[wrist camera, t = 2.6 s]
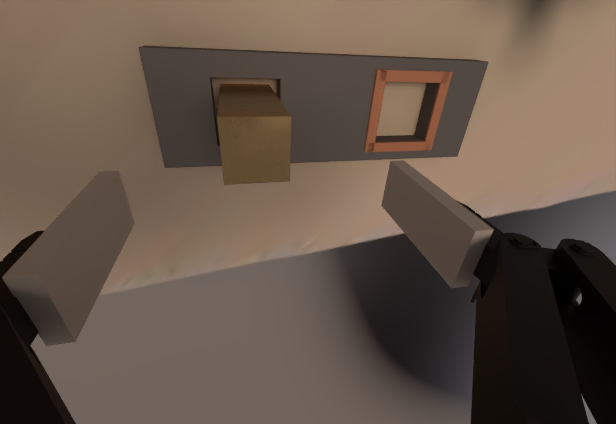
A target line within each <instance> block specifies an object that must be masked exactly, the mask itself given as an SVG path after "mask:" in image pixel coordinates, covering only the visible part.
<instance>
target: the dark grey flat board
mask: <svg viewBox="0 0 616 424" xmlns="http://www.w3.org/2000/svg"><path fill="white" fill-rule="evenodd" d="M139 51H140V55H141V60H142V64H143V69H144V74H145V78H146V83H147V87H148V92H149V97H150V101H151V106H152V110H153V115H154V120H155V124H156V129H157V134H158V138H159V143H160V147H161V152H162V157H163V161H164V166H165V168H175V167H200V166H222V159H221V150H220V141H219V139H218V134H217V125H216V115H215V106H214V97H213V88H212V79H211V77H226V78H270V79H277V86H278V98H279V100H280V101H281V103H282V104H283V106H284V107H285V108H286V110H287V111H288V113H289V114H290V116H291V147H290V163H303V162H328V161H354V160H380V159H405V158H431V157H457V156H458V153H459V150H460V147H461V144H462V141H463V138H464V135H465V132H466V129H467V126H468V123H469V120H470V117H471V114H472V111H473V108H474V105H475V102H476V99H477V96H478V93H479V90H480V86H481V83H482V80H483V77H484V74H485V71H486V68H487V65H488V62H486V61H479V60H465V59H442V58H418V57H395V56H371V55H348V54H324V53H301V52H277V51H254V50H230V49H207V48H183V47H160V46H142V47H139ZM385 82H426V83H427V86H426V90H425V94H424V99H423V103H422V107H421V111H420V115H419V119H418V123H417V127H416V132H415V135H406V136H376V134H377V128H378V123H379V117H380V111H381V105H382V100H383V94H384V88H385Z"/></svg>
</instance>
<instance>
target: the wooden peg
mask: <svg viewBox="0 0 616 424" xmlns="http://www.w3.org/2000/svg"><path fill="white" fill-rule="evenodd" d="M217 122H218V132H219V141H220V150H221V159H222V169H223V178H224V185H228V184H247V183H266V182H285V181H290V147H291V116H290V114H289V113H288V111H287V110H286V108H285V107H284V106H283V104H282V103H281V101H280V100H279V98H278V97H277V95H276V94H275V92H274V91H273V90H272V88H271V87H270V85H267V84H221V88H220V96H219V104H218V112H217Z"/></svg>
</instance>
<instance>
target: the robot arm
mask: <svg viewBox="0 0 616 424" xmlns="http://www.w3.org/2000/svg"><path fill="white" fill-rule="evenodd" d="M381 206H382V207H383V208H384V209H385V210H386V212H387V213H388V214H389V215H390V216H391V217H392V219H393V220H394V221H395V222H396V223H397V224H398V226H399V227H400V228H401V229H402V230H403V232H404V233H405V234H406V235H407V236H408V237H409V238H410V240H411V241H412V242H413V243H414V244H415V245H416V247H417V248H418V249H419V250H420V252H421V253H422V254H423V255H424V256H425V257H426V259H427V260H428V261H429V262H430V263H431V264H432V266H433V267H434V268H435V269H436V270H437V271H438V273H439V274H440V275H441V276H442V277H443V278H444V279H445V281H446V282H447V283H448V284H449V286H450V287H451V288H457V287H464V286H469V283H470V281H471V279H472V276H473V275H475V276H476V277H477V278H478V279H479V280H480V282H479V285H478V287H477V289H476V291H475V293H474V295H473V297H472V299H471V302H473V303H474V301H475V299H476V321H475V343H474V366H473V387H472V388H473V389H472V410H471V424H589V422H588V419H587V415H586V411H585V407H584V404H583V400H582V396H583V398H584V400H585V402H586V403H587V406H588V407H589V409H590V411H591V413H592V415H593V417H594V419H595V420H596V423H597V424H616V265H614V263H612V261H611V260H610V259H609V258H608V257H607V256H606V255H605V254H604V253H603V252H601V251H600V250H599V249H597V248H596V247H594V246H592V245H591V244H589V243H587V242H586V243H585V242H584V241H581V240H575V239H563V240H561V242H560V243H559V245H558V247H557V248H556V249H549V248H541V246H540V245H539V244H538V243H537V242H536V241H534V240H532V239H531V238H529V237H526V236H523V235H521V234H516V233H505V234H504V233H503V232H501V231H500V230H499V229H497V228H496V227H495V226H493V225H492V224H491V223H489V222H488V221H487V220H485V219H484V218H482V217H481V216H480V215H479V214H477V213H475V211H473V210H472V209H471V208H469V207H468V206H467V205H465V204H462V203H460V202H458V201H456V200H455V199H453V198H452V197H451V196H449V195H448V194H447V193H445V192H444V191H443V190H442V189H440V188H439V187H438V186H436V185H435V184H434V183H432V182H431V181H430V180H428V179H427V178H426V177H424V176H423V175H422V174H421V173H419V172H418V171H417V170H415V169H414V168H413V167H411V166H410V165H409V164H407V163H406V162H405V161H404V160H403V161H390V166H389V171H388V176H387V181H386V186H385V191H384V196H383V200H382V205H381ZM133 225H134V220H133V216H132V213H131V210H130V207H129V203H128V200H127V197H126V193H125V190H124V187H123V183H122V180H121V177H120V173H119V171H110V172H99V173H98V174H97V175H96V176H95V177H94V178H93V179H92V180H91V182H90V183H89V184H88V185H87V186H86V187H85V188H84V189H83V190H82V191H81V192H80V193H79V194H78V196H77V197H76V198H75V199H74V200H73V201H72V202H71V203H70V204H69V205H68V206H67V207H66V209H65V210H64V211H63V212H62V213H61V214H60V215H59V216H58V217H57V218H56V219H55V220H54V222H53V223H52V224H51V225H50V226H49V227H48V228H47V229H46V230H45V231H37V232H35V233H33V234H32V235H30V236H28V237H26V238H25V239H23V240H21V241H20V242H19V243H18V244H17V245H16V246H15V247H14V248H13V249H12V250H11V253H9V254H8V255H7V256H6V257H5V258H4V259H3V261H1V262H0V424H76V423H75V421H74V420H73V418H72V416H71V414H70V413H69V411H68V409H67V407H66V406H65V404H64V402H63V400H62V399H61V397H60V395H59V393H58V392H57V390H56V388H55V387H54V385H53V383H52V381H51V380H50V378H49V376H48V374H47V373H46V371H45V369H44V367H43V366H42V364H41V362H40V361H39V359H38V357H37V355H36V354H35V352H34V350H33V349H32V348H31V347H30V345H31V343H32V342H33V340H34V339H35V337H36V336H37V334H39V335H40V337H41V338H42V340H43V342H44V343H45V345H46V346H48V345H55V344H63V343H70V342H75V341H76V340H77V338H78V336H79V333H80V332H81V330H82V327H83V326H84V323H85V321H86V319H87V317H88V315H89V313H90V311H91V309H92V307H93V305H94V303H95V301H96V299H97V297H98V295H99V293H100V291H101V289H102V287H103V285H104V283H105V281H106V279H107V277H108V275H109V273H110V271H111V269H112V267H113V265H114V263H115V261H116V259H117V257H118V255H119V253H120V251H121V249H122V247H123V245H124V243H125V241H126V239H127V237H128V235H129V233H130V231H131V229H132V227H133ZM580 293H581V294H582V301H581V303H580V305H579V304H578V302H577V301H576V299H577V297H578V296H579V295H580ZM581 394H582V396H581Z"/></svg>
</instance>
